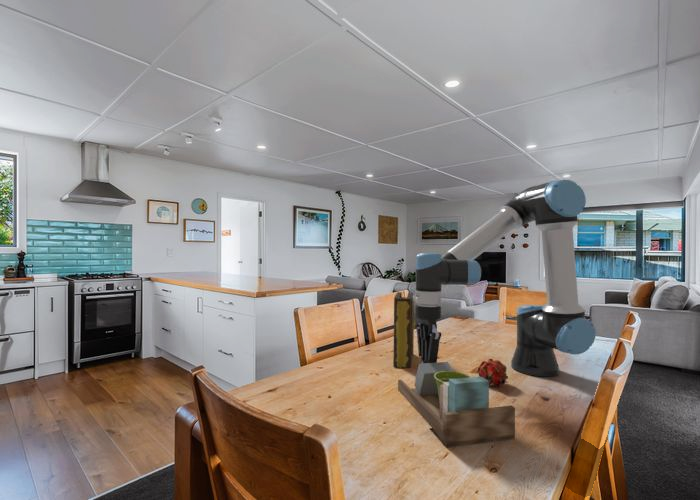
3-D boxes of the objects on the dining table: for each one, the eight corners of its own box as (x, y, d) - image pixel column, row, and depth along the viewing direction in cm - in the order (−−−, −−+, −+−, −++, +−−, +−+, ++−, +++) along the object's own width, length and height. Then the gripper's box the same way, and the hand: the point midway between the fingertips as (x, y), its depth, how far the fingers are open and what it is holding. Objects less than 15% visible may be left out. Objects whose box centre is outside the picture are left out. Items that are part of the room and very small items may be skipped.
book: (414, 369, 124) (414, 299, 124) (389, 367, 126) (390, 298, 126) (415, 352, 146) (415, 291, 146) (394, 350, 148) (395, 291, 148)
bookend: (442, 383, 105) (447, 361, 102) (448, 393, 102) (454, 371, 99) (414, 385, 103) (418, 363, 100) (419, 395, 100) (424, 373, 97)
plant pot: (462, 402, 96) (463, 370, 96) (478, 418, 86) (478, 383, 86) (429, 403, 95) (429, 371, 95) (441, 420, 86) (441, 384, 86)
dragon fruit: (499, 384, 116) (490, 401, 106) (477, 365, 119) (466, 381, 110) (515, 367, 112) (507, 384, 103) (492, 348, 116) (482, 363, 106)
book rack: (450, 388, 108) (450, 346, 107) (514, 438, 79) (515, 381, 79) (398, 393, 104) (398, 349, 104) (445, 447, 75) (446, 387, 75)
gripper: (408, 301, 110) (407, 376, 111) (425, 308, 98) (424, 393, 98) (430, 301, 112) (429, 375, 112) (450, 308, 99) (449, 391, 99)
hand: (427, 383), depth 105 cm, fingers closed
